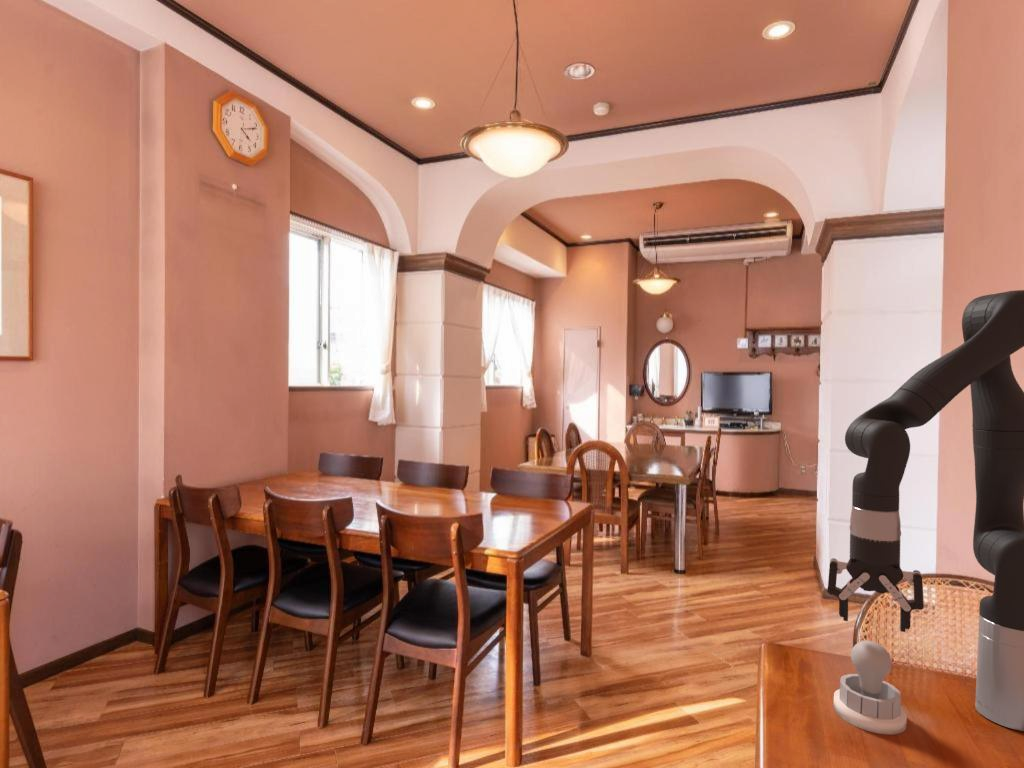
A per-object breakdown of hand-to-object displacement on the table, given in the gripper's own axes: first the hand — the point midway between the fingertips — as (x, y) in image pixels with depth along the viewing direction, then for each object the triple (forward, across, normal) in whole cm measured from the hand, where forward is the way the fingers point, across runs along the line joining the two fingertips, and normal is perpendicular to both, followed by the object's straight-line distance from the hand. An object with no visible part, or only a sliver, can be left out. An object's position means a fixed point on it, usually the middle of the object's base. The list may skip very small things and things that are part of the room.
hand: (873, 624), depth 103 cm
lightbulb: (+14, 0, 0) cm, 14 cm away
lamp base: (+16, 0, 0) cm, 16 cm away
